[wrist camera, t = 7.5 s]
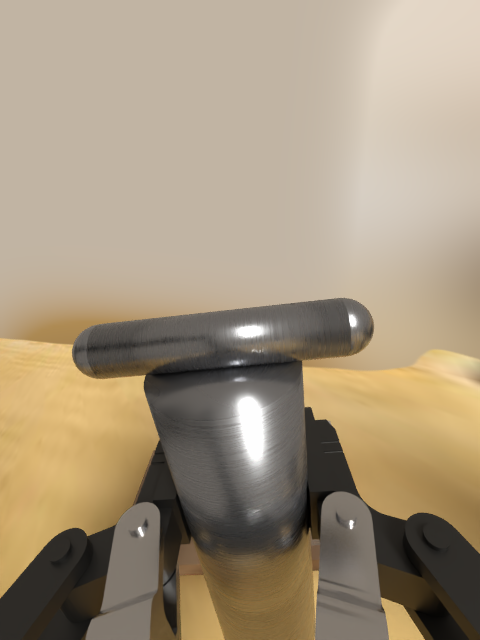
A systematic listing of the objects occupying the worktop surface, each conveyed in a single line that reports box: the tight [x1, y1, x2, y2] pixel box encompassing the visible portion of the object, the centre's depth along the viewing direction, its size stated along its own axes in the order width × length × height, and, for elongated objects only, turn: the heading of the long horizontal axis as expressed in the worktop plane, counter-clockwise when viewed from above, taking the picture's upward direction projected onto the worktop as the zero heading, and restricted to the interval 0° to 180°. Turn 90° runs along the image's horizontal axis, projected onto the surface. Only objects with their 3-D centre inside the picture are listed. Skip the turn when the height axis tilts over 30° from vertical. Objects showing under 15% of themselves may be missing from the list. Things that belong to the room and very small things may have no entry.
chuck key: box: [72, 298, 374, 640], centre depth 10 cm, size 7×4×14 cm, turn 88°
